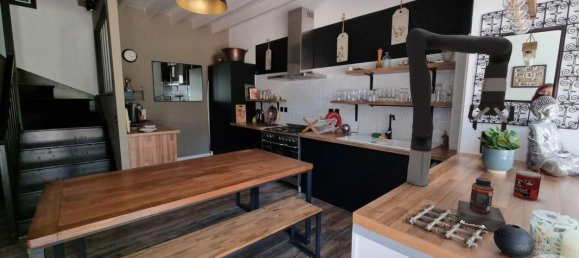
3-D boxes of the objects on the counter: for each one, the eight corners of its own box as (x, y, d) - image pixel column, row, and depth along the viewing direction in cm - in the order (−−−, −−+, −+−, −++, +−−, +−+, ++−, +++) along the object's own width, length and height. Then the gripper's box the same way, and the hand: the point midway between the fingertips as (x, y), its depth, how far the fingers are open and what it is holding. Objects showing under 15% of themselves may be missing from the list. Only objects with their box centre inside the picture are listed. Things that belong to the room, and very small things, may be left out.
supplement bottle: (494, 214, 83) (499, 182, 81) (474, 213, 84) (479, 181, 82) (483, 207, 89) (488, 177, 87) (465, 205, 90) (469, 175, 88)
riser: (458, 223, 85) (460, 212, 84) (457, 210, 95) (458, 200, 94) (504, 234, 78) (505, 222, 78) (497, 218, 88) (499, 208, 88)
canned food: (508, 193, 112) (511, 170, 111) (524, 193, 113) (527, 170, 111) (525, 201, 105) (529, 176, 103) (542, 200, 105) (546, 176, 104)
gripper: (515, 90, 96) (509, 131, 98) (470, 90, 104) (465, 128, 106) (519, 90, 90) (513, 133, 92) (471, 90, 98) (467, 130, 100)
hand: (488, 130), depth 99 cm, fingers open, 8 cm apart
